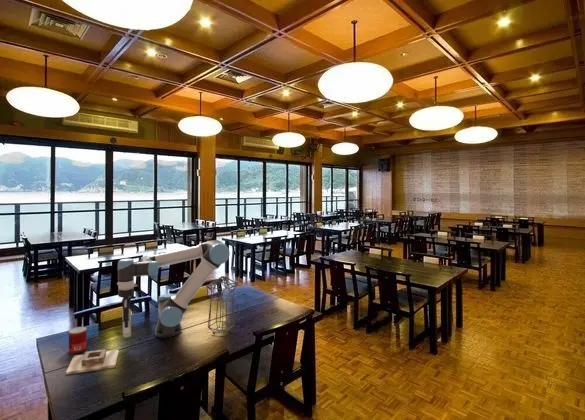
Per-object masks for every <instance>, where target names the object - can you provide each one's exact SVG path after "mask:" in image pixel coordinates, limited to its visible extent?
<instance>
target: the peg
mask: <svg viewBox="0 0 585 420" xmlns="http://www.w3.org/2000/svg"><path fill="white" fill-rule="evenodd" d="M131 311H132V309H131V308H130V309H129V327H130V333H124V322H122V337H123V338H130V337H132V312H131ZM121 312H122V314H121V315H122V319H123V310H122V311H121Z"/></svg>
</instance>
